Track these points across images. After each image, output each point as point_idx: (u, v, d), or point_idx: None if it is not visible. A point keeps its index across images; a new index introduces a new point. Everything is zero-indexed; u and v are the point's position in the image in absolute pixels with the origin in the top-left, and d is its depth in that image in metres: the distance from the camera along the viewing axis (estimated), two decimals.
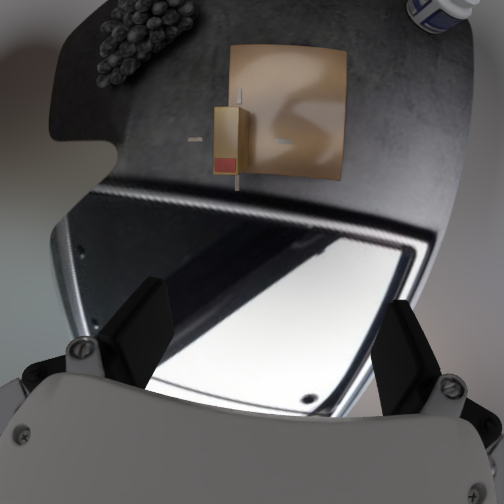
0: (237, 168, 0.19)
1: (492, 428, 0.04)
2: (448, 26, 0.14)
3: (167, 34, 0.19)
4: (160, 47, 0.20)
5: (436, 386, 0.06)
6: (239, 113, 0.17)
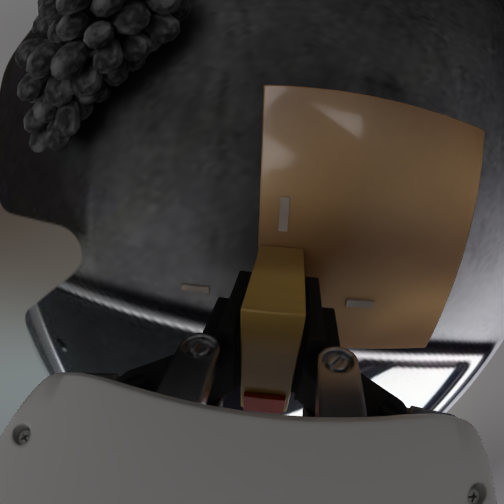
0: (286, 404, 0.09)
1: (387, 413, 0.05)
2: None
3: (129, 53, 0.10)
4: (118, 80, 0.11)
5: (318, 356, 0.07)
6: (303, 326, 0.07)
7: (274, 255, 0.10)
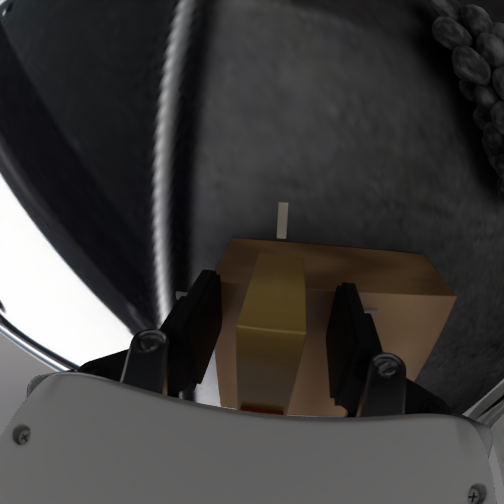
0: None
1: (435, 413, 0.05)
2: None
3: None
4: (489, 138, 0.09)
5: (369, 363, 0.07)
6: (303, 343, 0.07)
7: (273, 264, 0.10)
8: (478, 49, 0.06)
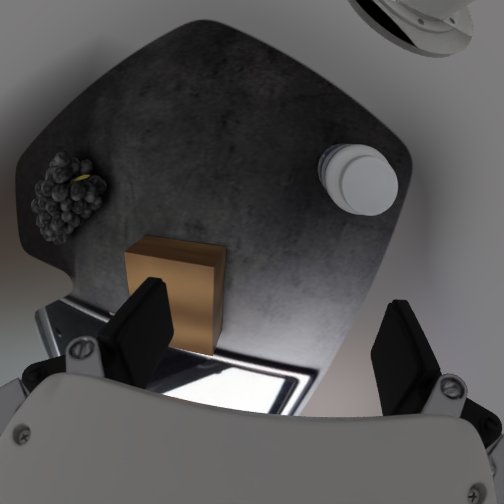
0: None
1: (492, 428, 0.04)
2: None
3: (82, 216, 0.27)
4: (81, 224, 0.28)
5: (436, 386, 0.06)
6: None
7: None
8: (55, 235, 0.28)
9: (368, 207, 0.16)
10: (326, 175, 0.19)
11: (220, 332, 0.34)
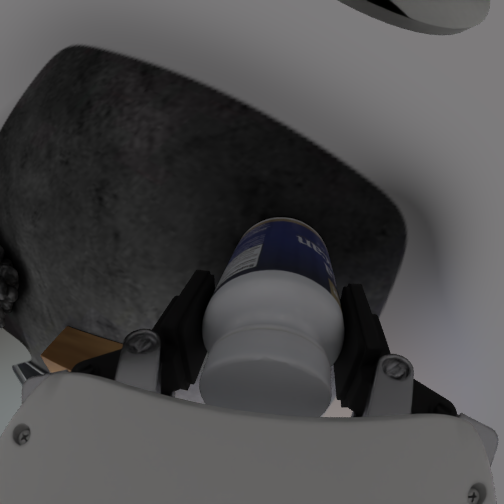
0: None
1: (442, 414, 0.05)
2: None
3: (5, 308, 0.19)
4: (8, 313, 0.20)
5: (377, 364, 0.07)
6: None
7: None
8: None
9: None
10: (202, 333, 0.10)
11: None
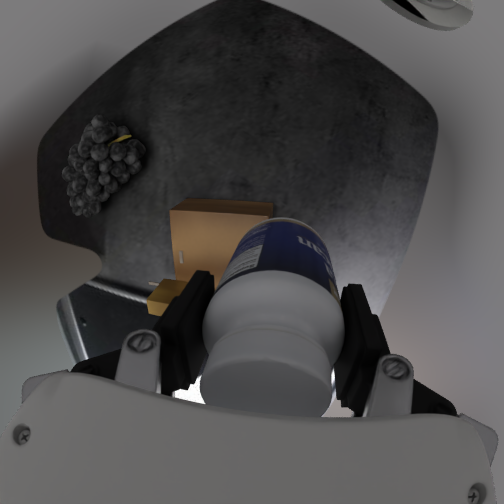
0: None
1: (442, 414, 0.05)
2: None
3: (119, 181, 0.27)
4: (117, 191, 0.28)
5: (377, 364, 0.07)
6: (150, 300, 0.26)
7: None
8: (87, 205, 0.29)
9: None
10: (203, 333, 0.10)
11: None
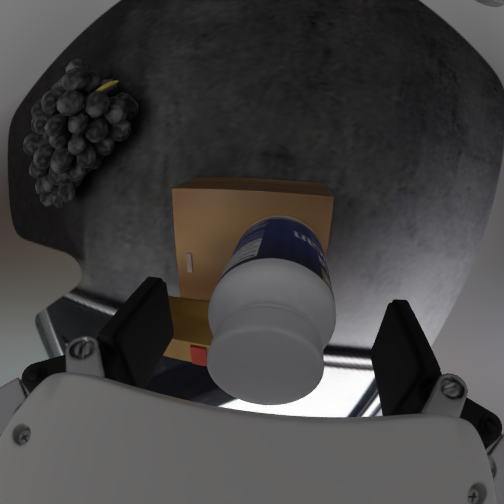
0: (202, 344, 0.15)
1: (492, 428, 0.04)
2: None
3: (99, 151, 0.17)
4: (96, 167, 0.19)
5: (436, 386, 0.06)
6: None
7: None
8: (56, 189, 0.19)
9: (264, 397, 0.09)
10: (208, 316, 0.11)
11: None
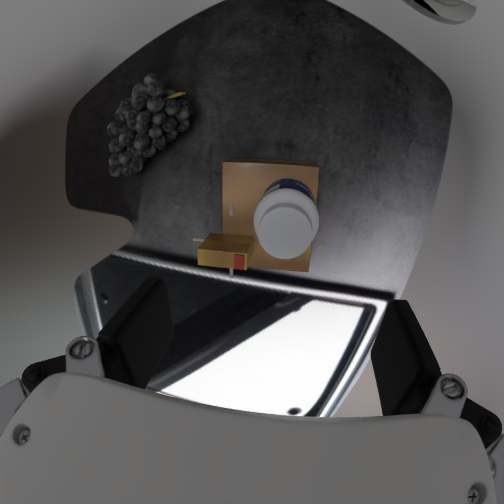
0: (242, 253, 0.26)
1: (492, 428, 0.04)
2: None
3: (167, 138, 0.28)
4: (162, 148, 0.29)
5: (436, 386, 0.06)
6: (202, 248, 0.27)
7: None
8: (128, 163, 0.30)
9: (284, 252, 0.20)
10: (253, 221, 0.22)
11: None
